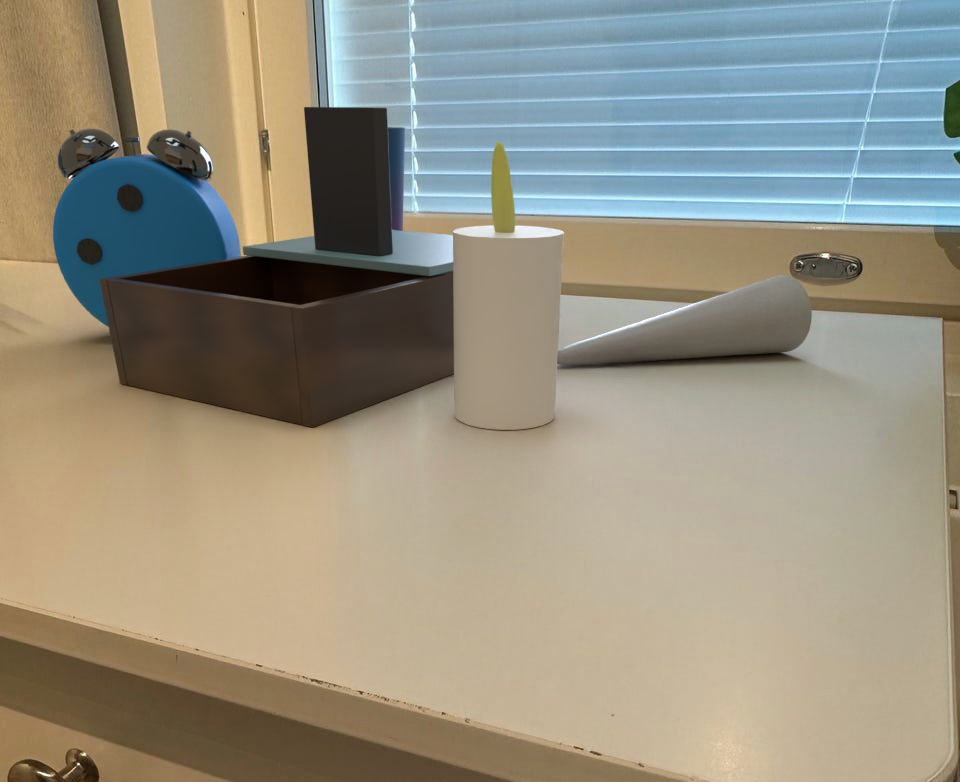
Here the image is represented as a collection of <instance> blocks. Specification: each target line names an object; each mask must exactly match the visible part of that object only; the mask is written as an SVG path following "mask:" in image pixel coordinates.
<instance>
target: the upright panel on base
mask: <svg viewBox="0 0 960 782" xmlns="http://www.w3.org/2000/svg"><path fill="white" fill-rule="evenodd" d="M303 114H304V126H305V137H306V151H307V163H308V175H309V186H310V201H311V212H312V226H313V235H312V236H305V237H298V238H291V239H284V240H277V241H269V242H264V243H258V244H250V245H244V246H242V253H243V256H247V255H248V256H257V257H266V258H275V259H283V260H292V261H301V262H309V263H318V264H327V265H336V266H344V267H353V268H362V269H370V270H379V271H388V272H397V273H405V274H414V275H423V276H433V275H438V274H442V273H446V272H451V271H453V234H443V233H434V232H433V233H431V232H422V231H421V232H419V231H408V230H403V231H399V230H392V221H391V196H390V170H389V145H388V127H389V125H388V123H389V122H388V121H389V119H388V108H387V107H370V106H369V107H367V106H366V107H359V106H357V107H355V106H354V107H353V106H352V107H351V106H350V107H349V106H348V107H347V106H345V107H344V106H304V107H303Z"/></svg>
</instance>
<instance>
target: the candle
mask: <svg viewBox="0 0 960 782" xmlns="http://www.w3.org/2000/svg"><path fill="white" fill-rule="evenodd" d="M491 160H492V161H491V175H490V177H491V178H490V194H491V195H490V197H491V199H490V200H491V215H492V216H491V217H492V222H493V225H492V224H491V225H475V226H465V227H459V228H455V229H454V230H453V231H452V235H453V308H454V374H453V413H454V417H455V419H456V420H458V421H459V422H460V423H462V424H464V425H468V426H470V427H471V426H472V427H475V428H481V429H487V430H497V431H498V430H499V431H514V430H525V429H526V430H527V429H533V428H537V427H542V426H544V425H546V424H549V423H551V422H552V421H553V420H554V419H555V412H556V395H557V394H556V393H557V377H558V364H557V357H558V350H559V338H560V337H559V335H560V317H561V315H560V314H561V296H562V278H563V275H562V274H563V260H564V259H563V257H564V241H565V232H564V231H563V230H561V229H557V228H551V227H545V226H535V225H516V212H515V211H516V210H515V200H514V189H513V184H512V183H513V182H512V175H511V170H510V165H509V160H508V155H507V153H506V149H505V147H504V144H503V143H502V141H500V140H498V141H497V142H496V144H495V146H494V149H493V153H492V159H491Z"/></svg>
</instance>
